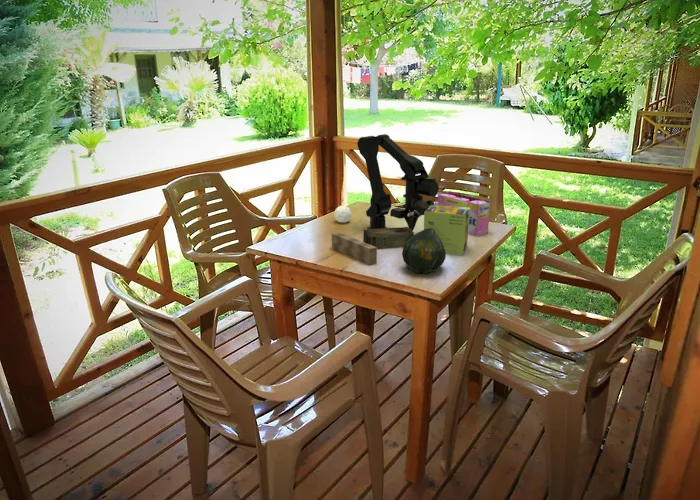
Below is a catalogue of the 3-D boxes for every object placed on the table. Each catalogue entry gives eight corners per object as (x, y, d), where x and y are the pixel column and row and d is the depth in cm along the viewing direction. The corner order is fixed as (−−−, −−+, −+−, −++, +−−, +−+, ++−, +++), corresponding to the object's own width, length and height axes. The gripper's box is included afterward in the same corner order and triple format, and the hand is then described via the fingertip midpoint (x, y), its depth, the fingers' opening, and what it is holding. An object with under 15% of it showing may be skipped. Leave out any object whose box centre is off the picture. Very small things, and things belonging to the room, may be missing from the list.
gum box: (433, 223, 220) (434, 193, 215) (445, 220, 225) (447, 190, 220) (476, 236, 202) (478, 204, 197) (488, 233, 207) (491, 201, 202)
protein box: (463, 255, 182) (466, 214, 177) (422, 251, 187) (423, 211, 182) (467, 246, 191) (470, 207, 186) (428, 242, 197) (429, 204, 191)
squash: (391, 259, 164) (423, 228, 159) (397, 246, 178) (427, 217, 172) (422, 288, 165) (455, 258, 159) (426, 273, 179) (456, 245, 173)
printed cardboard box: (414, 246, 192) (414, 230, 190) (366, 250, 189) (366, 234, 187) (408, 240, 200) (408, 224, 197) (362, 244, 196) (362, 228, 194)
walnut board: (331, 248, 192) (331, 233, 189) (338, 246, 193) (337, 231, 191) (370, 265, 174) (370, 249, 172) (376, 263, 176) (376, 247, 174)
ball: (339, 228, 224) (328, 216, 221) (345, 218, 229) (334, 205, 226) (351, 223, 219) (340, 209, 216) (357, 212, 225) (346, 199, 222)
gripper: (410, 200, 183) (408, 240, 188) (444, 192, 193) (442, 230, 199) (389, 194, 191) (389, 233, 196) (423, 187, 202) (422, 224, 207)
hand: (411, 230), depth 199 cm, fingers closed
